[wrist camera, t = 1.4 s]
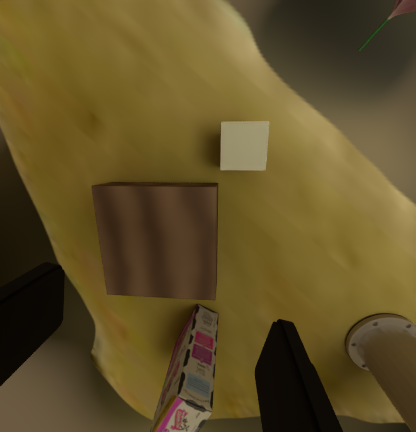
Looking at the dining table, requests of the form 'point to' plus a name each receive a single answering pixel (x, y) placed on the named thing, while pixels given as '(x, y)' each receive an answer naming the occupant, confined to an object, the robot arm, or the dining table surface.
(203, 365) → the candy bar box
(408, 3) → the lily
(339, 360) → the dining table surface
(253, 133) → the sage block
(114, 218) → the walnut block
